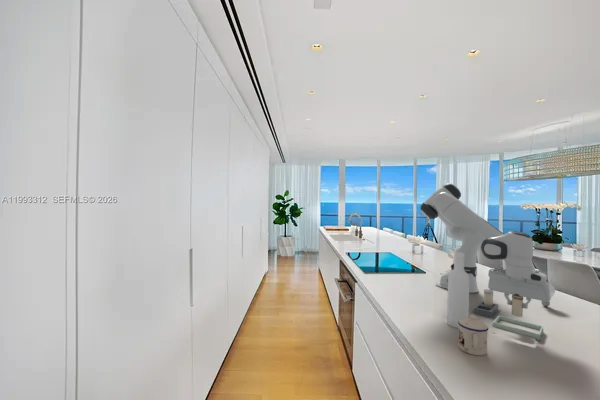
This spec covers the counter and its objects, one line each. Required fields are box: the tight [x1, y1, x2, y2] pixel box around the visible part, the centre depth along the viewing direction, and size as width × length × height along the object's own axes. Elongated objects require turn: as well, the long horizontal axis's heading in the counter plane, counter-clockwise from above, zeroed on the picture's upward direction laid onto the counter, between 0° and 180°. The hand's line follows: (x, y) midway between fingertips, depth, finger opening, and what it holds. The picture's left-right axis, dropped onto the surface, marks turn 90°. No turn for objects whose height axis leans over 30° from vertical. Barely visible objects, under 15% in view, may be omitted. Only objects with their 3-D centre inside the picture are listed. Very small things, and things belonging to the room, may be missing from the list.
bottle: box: [446, 251, 470, 329], centre depth 123 cm, size 8×8×30 cm
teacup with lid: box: [457, 314, 489, 356], centre depth 101 cm, size 12×9×12 cm
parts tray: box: [492, 314, 544, 342], centre depth 119 cm, size 15×11×2 cm
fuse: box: [483, 288, 494, 307], centre depth 139 cm, size 4×4×9 cm
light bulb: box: [540, 283, 556, 308], centre depth 148 cm, size 7×7×12 cm
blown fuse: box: [510, 294, 524, 318], centre depth 119 cm, size 4×4×9 cm
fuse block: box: [470, 300, 502, 320], centre depth 136 cm, size 9×14×4 cm, turn 135°
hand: (517, 306), depth 119 cm, fingers closed on blown fuse, 4 cm apart
